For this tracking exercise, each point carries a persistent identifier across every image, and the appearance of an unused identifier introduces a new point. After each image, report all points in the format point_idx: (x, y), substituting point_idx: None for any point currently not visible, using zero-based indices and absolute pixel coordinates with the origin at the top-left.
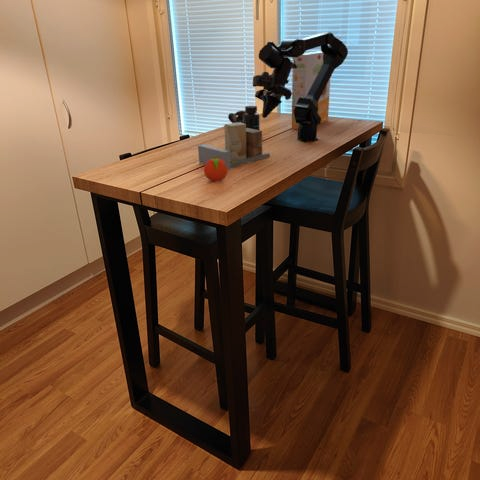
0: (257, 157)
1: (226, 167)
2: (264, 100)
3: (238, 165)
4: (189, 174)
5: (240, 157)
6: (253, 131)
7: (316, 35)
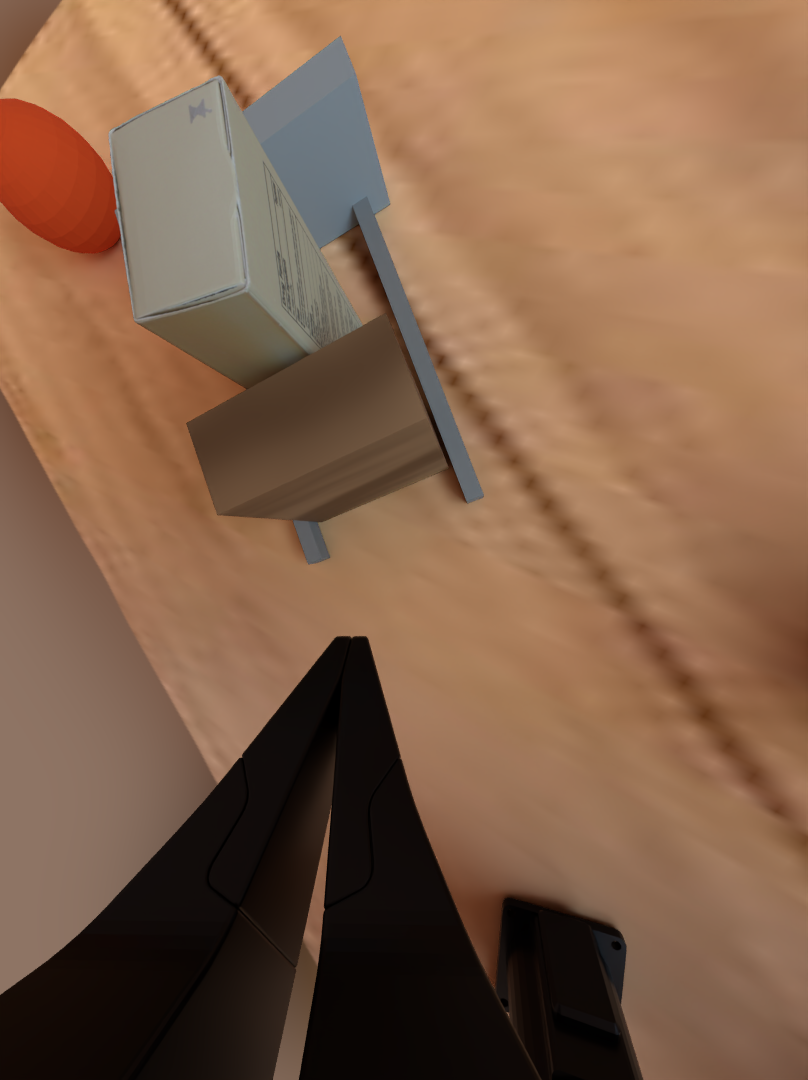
0: None
1: (20, 221)
2: (336, 977)
3: None
4: None
5: None
6: (228, 442)
7: None
